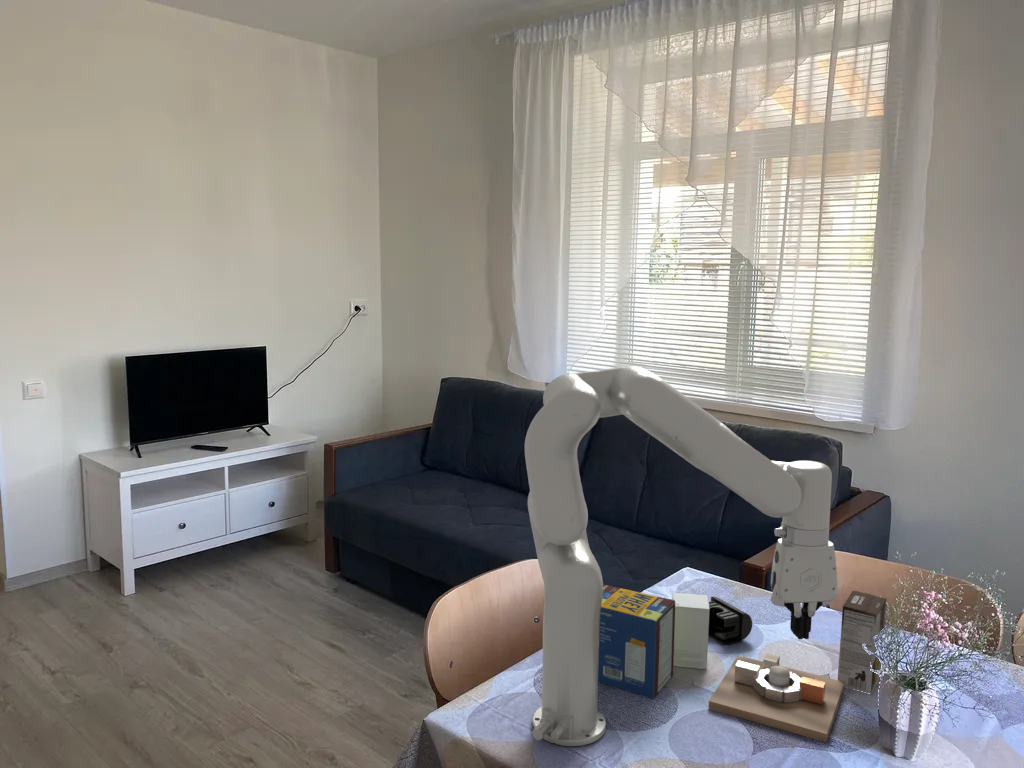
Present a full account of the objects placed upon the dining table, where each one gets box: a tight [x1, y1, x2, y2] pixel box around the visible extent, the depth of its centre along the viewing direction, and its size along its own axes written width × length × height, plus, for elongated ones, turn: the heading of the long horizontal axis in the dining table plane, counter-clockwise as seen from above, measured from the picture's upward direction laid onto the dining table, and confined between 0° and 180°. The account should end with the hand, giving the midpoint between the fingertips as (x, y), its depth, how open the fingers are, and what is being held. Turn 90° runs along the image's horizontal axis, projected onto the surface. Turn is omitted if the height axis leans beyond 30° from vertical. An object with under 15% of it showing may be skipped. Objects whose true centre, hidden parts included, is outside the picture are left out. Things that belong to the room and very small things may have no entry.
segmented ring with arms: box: [734, 661, 825, 705], centre depth 146 cm, size 16×8×3 cm, turn 60°
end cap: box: [708, 596, 753, 647], centre depth 172 cm, size 10×7×7 cm
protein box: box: [598, 584, 675, 700], centre depth 153 cm, size 10×15×16 cm
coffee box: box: [837, 590, 887, 695], centre depth 152 cm, size 9×6×16 cm
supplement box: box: [671, 592, 710, 670], centre depth 160 cm, size 7×7×13 cm
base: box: [708, 652, 845, 743], centre depth 146 cm, size 20×20×6 cm
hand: (800, 635), depth 138 cm, fingers closed
